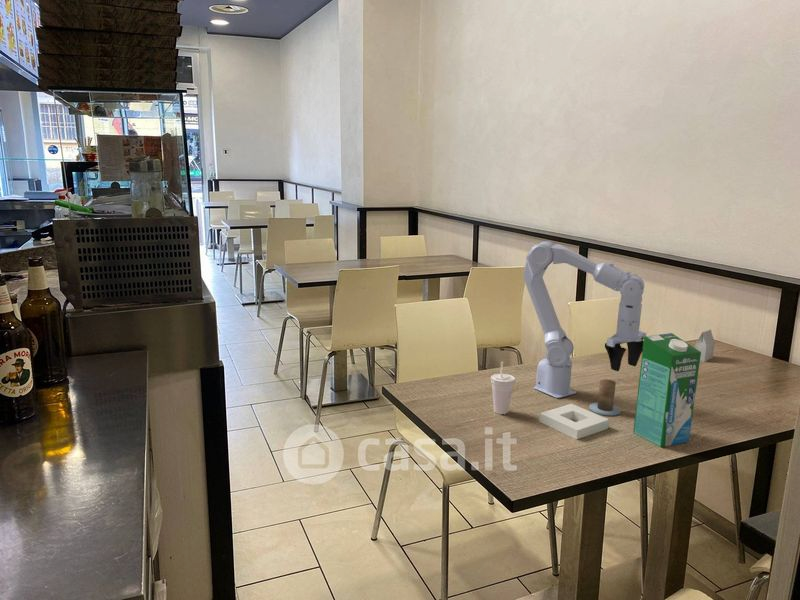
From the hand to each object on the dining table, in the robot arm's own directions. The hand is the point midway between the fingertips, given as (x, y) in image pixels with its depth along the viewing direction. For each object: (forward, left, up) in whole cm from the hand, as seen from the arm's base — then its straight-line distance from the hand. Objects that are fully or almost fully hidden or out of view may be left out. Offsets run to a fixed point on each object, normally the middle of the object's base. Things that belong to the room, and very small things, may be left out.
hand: (623, 367), depth 166 cm
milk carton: (+19, -10, -11) cm, 24 cm away
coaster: (+1, -8, -10) cm, 13 cm away
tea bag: (-10, +60, -11) cm, 62 cm away
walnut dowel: (+1, -8, -10) cm, 13 cm away
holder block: (+3, -23, -10) cm, 25 cm away
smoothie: (-13, -33, -11) cm, 37 cm away
